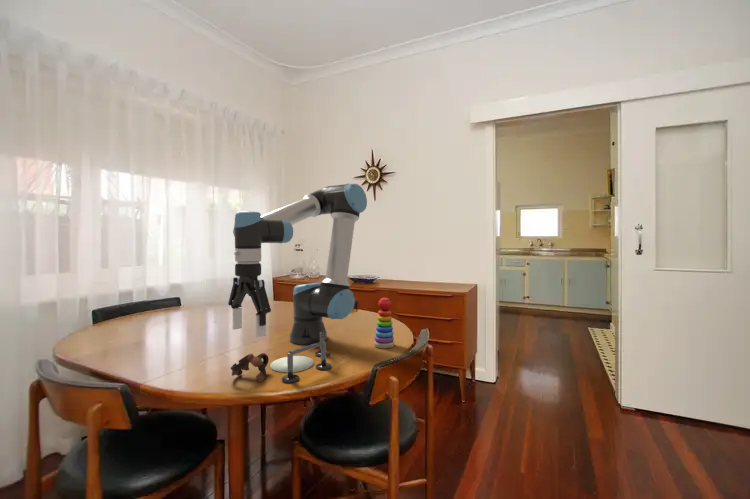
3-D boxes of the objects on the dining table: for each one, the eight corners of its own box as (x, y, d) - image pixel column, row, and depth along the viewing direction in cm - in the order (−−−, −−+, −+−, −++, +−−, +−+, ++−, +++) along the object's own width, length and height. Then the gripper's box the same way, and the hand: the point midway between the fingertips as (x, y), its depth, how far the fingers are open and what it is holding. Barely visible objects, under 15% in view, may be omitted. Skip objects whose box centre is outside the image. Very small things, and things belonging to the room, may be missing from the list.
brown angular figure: (255, 388, 101) (239, 364, 101) (236, 396, 106) (221, 373, 105) (281, 364, 112) (267, 342, 111) (262, 372, 116) (249, 351, 116)
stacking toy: (393, 349, 133) (392, 300, 132) (372, 348, 135) (371, 299, 134) (396, 343, 141) (395, 296, 140) (376, 342, 142) (375, 295, 142)
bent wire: (260, 371, 112) (259, 345, 112) (322, 351, 132) (322, 328, 131) (288, 384, 102) (288, 355, 102) (351, 360, 122) (351, 335, 122)
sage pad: (262, 365, 118) (262, 364, 118) (296, 354, 128) (296, 353, 128) (287, 376, 109) (287, 374, 109) (322, 363, 119) (322, 362, 119)
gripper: (216, 261, 113) (217, 328, 114) (259, 265, 97) (260, 342, 97) (238, 260, 119) (239, 323, 119) (283, 264, 102) (283, 337, 103)
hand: (248, 332), depth 108 cm, fingers open, 13 cm apart
